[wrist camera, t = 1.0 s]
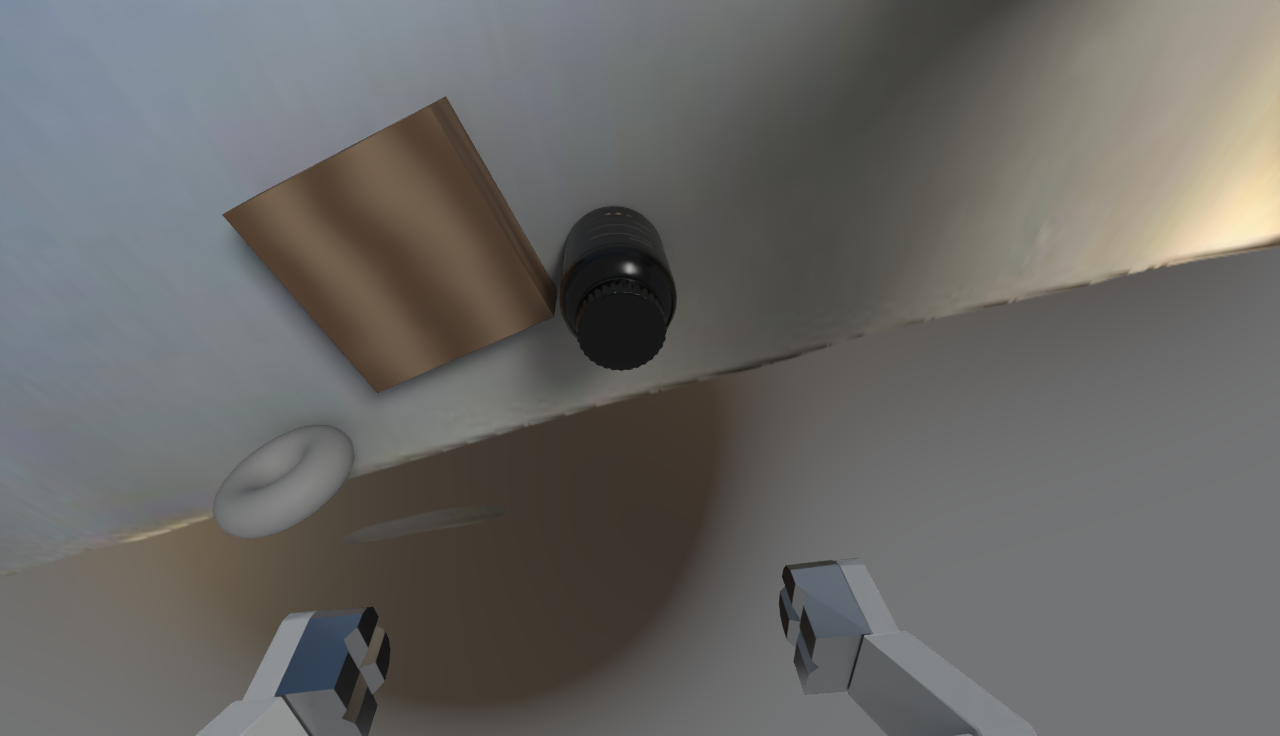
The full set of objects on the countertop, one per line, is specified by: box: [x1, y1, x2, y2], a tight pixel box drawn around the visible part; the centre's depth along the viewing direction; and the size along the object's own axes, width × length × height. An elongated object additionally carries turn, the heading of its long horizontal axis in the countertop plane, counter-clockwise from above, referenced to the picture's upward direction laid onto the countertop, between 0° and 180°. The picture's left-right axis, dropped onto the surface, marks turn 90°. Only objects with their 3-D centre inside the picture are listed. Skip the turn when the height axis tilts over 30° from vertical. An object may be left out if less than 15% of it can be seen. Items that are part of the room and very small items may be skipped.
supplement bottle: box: [560, 206, 677, 371], centre depth 35 cm, size 7×7×12 cm
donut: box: [213, 425, 354, 539], centre depth 42 cm, size 10×4×10 cm, turn 107°
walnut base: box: [222, 97, 557, 393], centre depth 37 cm, size 14×14×4 cm
